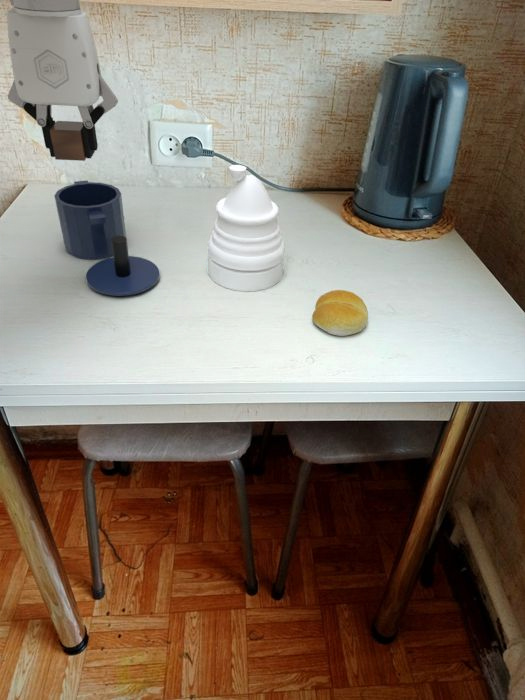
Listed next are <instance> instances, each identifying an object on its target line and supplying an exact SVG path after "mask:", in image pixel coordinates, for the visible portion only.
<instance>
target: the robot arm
mask: <svg viewBox="0 0 525 700" xmlns="http://www.w3.org/2000/svg"><path fill="white" fill-rule="evenodd" d="M9 1H10V5H11V6H13V8H12V9H9V10H6V23H7V35H8V36H7V37H8V46H9V47H8V48H9V55H10V62H11V67H12V68H11V69H12V75H13V82H12V83H11V87H10V89H9V91H8V94H7V99H8V101H10V102H11V103H12V104H13V105H16V106H17V107H19V108H20V109H23V110H24V112H26V113H27V115H29V116H30V117H31V118H32V119H34V120H35V121H36V123H37V125H38V126H39V127H41V131H42V137H43V142H44V146H45V148H46V149H48V150H49V155H50V158H55V155H54V150H53V145H52V140H51V135H50V128H51V127H52V126H53V125H54V124H55V123H56V122H57V121H56V120H54V118H53V116H52V106H64V107H65V106H66V107H67V106H68V107H77V110H78V112H79V115H80V118H81V122H83V128H82V129H81V133H82V139H83V145H84V151H85V157H86V159H92V157H93V156H94V154H95V152H96V151H98V147H99V146H98V139H97V132H96V124H97V122H98V121H99V120H100V119H101V118H102V117H103V116H104V115H105V114H107V113H108V112H110V111H111V110H112V109H114V108H115V107H116V106H117V104H119V103H118V102H119V99H118V98H117V96H116V95H115V94H114V92H113V91H112V89H111V88H110V86H109V84H107V82H106V81H105V79H104V78H103V76H102V71H101V65H100V60H99V56H98V51H97V47H96V42H95V37H94V34H93V30H92V28H91V27H92V26H91V23H90V20H89V17H88V15H87V12H86V11H82V10H81V9H82V8H81V2H80V0H9ZM100 97H101V98H102V101H101V102H99V103H98V104H97V102H98V101H99V100H100ZM95 104H96V106H95V107H94V105H95Z"/></svg>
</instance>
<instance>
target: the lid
mask: <svg viewBox="0 0 525 700" xmlns="http://www.w3.org/2000/svg"><path fill="white" fill-rule="evenodd" d="M111 245H112V252H113V256H112V257H109V258H104V259H101V260H100V261H97V262H96V263H95V264H93V265H91V266H90V267H89V269H88V270H87V272H86V274H85V281H86V283H87V285H88V286H89V287H90V288H91V289H92V290H93V291H95V292H97V293H100V294H103V295H107V296H116V297H123V296H131V295H136V294H140V293H143V292H146V291H147V290H150V289H151V288H153V287H154V286H155V285H156V284H157V283H158V281H159V280H160V269H159V267H158V266H157V264H155V263H154V262H152V261H151V260H149V259H146V258H143V257H140V256H134V255H133V256H132V255H129V245H128V238H127V236H126V237H124V236H114V237H112V238H111Z"/></svg>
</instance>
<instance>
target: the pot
mask: <svg viewBox="0 0 525 700" xmlns="http://www.w3.org/2000/svg"><path fill="white" fill-rule="evenodd" d="M53 197H54V202H55V206H56V211H57V216H58V220H59V226H60V230H61V231H60V232H61V235H62V240H63V244H64V249H65V251H66V253H67V254H69V255H70V256H72V257H74V258H77V259H81V260H94V261H95V260H105V259H108V258H112V257H113V252H112V245H111V238H112V237H114V236H124V237H126V238H127V232H126V223H125V217H124V215H125V214H124V207H123V197H122V192H121V191H120V189H119V188H118V187H116V186H114V185H112V184H109V183H104V182H94V181H93V182H92V181H89V180H88V179H87V180H86V179H85V180H78V181H76V180H75V181H73V184H68V185H66V186H63V187H61V188H60V189H58V190H57V191H56V192H55V193H54V195H53Z"/></svg>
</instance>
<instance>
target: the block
mask: <svg viewBox="0 0 525 700" xmlns="http://www.w3.org/2000/svg"><path fill="white" fill-rule="evenodd" d="M55 122H56V123H55V124H54V125H53V126H52V127H51V128H50V135H51V140H52V145H53V150H54V155H55V157H54V160H56V161H57V160H58V161H83V162H84V161H86V160H87V158H86V157H85V151H84V145H83V139H82V133H81V129H82V128H83V121H70V120H56V121H55Z"/></svg>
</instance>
